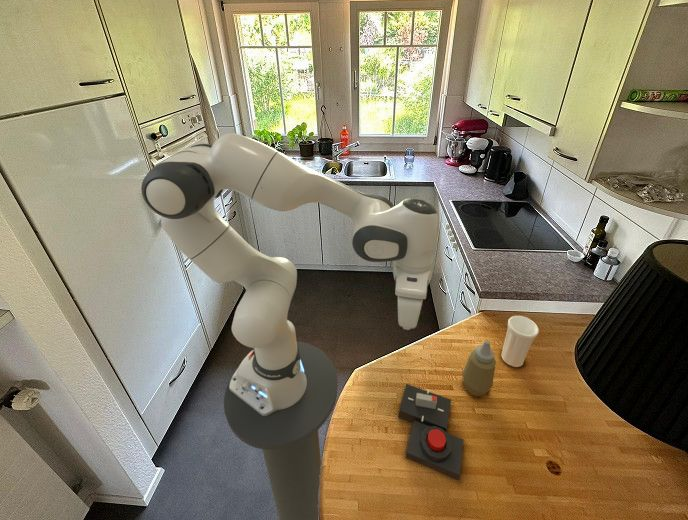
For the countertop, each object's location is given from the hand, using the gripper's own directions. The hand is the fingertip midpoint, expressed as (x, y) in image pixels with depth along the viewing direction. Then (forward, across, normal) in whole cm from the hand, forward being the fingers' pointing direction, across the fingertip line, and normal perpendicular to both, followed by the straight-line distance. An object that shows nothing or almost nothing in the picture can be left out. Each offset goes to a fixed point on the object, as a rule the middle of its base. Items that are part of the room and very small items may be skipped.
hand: (407, 313), depth 79 cm
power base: (+27, +16, +9) cm, 33 cm away
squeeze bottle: (+27, -3, +21) cm, 34 cm away
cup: (+27, -16, +33) cm, 46 cm away
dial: (+24, +7, +7) cm, 26 cm away
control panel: (+27, +7, +7) cm, 29 cm away
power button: (+24, +16, +9) cm, 30 cm away
